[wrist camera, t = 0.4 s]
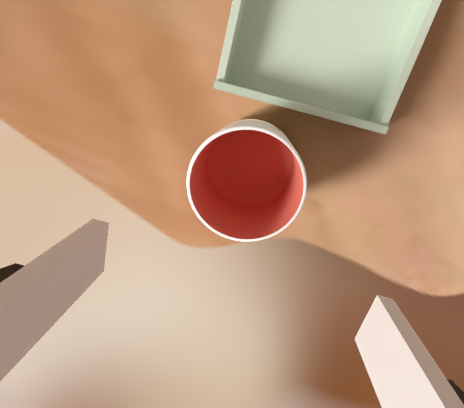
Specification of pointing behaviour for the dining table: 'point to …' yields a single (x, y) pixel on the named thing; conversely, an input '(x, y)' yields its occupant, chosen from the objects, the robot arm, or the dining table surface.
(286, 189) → the cup
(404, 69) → the pale green square tray
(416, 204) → the dining table surface
